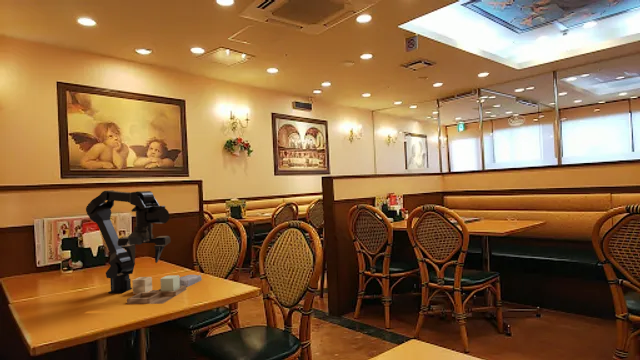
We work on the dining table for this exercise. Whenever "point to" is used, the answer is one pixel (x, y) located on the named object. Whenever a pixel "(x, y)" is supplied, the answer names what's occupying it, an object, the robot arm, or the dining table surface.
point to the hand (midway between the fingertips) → (144, 262)
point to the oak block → (142, 284)
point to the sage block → (170, 283)
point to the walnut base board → (154, 296)
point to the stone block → (189, 280)
